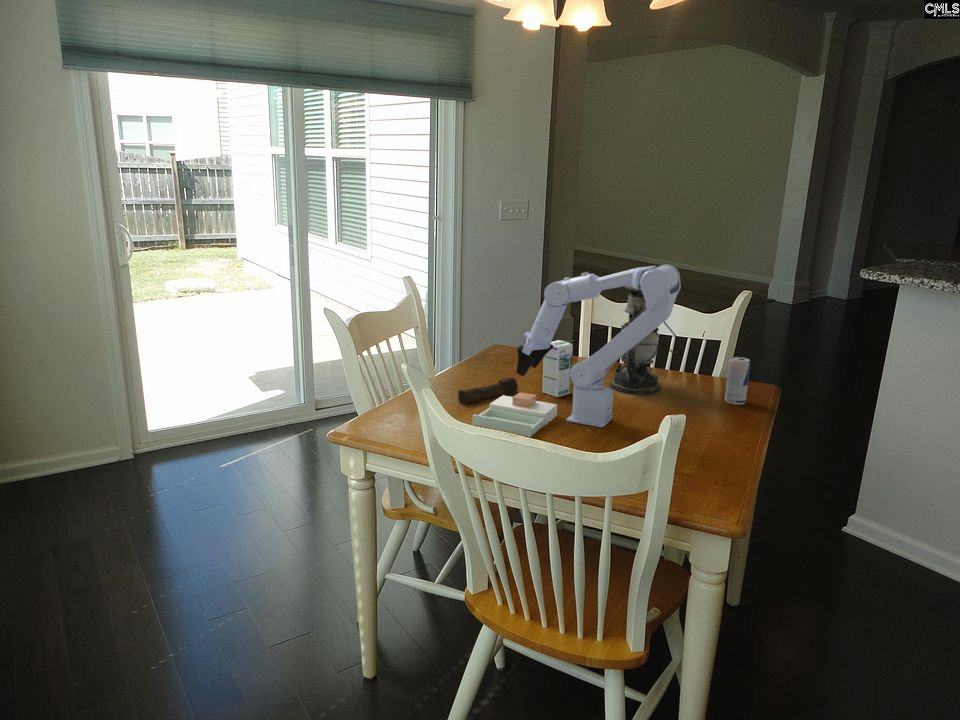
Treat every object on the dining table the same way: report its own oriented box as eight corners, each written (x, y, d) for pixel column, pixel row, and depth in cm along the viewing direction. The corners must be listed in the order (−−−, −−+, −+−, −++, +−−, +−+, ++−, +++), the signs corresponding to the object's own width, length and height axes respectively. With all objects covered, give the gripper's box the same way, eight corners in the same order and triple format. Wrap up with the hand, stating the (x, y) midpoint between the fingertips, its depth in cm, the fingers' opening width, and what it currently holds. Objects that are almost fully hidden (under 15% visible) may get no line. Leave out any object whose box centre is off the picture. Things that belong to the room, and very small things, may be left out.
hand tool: (465, 407, 183) (465, 390, 182) (456, 402, 186) (457, 385, 185) (523, 395, 193) (523, 379, 192) (514, 391, 196) (515, 375, 195)
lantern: (619, 375, 213) (626, 276, 205) (683, 384, 205) (693, 282, 197) (601, 392, 196) (608, 285, 188) (670, 402, 188) (680, 292, 180)
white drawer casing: (556, 415, 177) (557, 404, 176) (545, 425, 170) (545, 413, 169) (502, 406, 183) (502, 395, 182) (489, 415, 176) (489, 403, 176)
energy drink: (748, 402, 190) (754, 359, 187) (740, 406, 186) (745, 363, 183) (729, 397, 193) (734, 355, 190) (721, 402, 190) (726, 359, 186)
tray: (544, 425, 170) (545, 414, 169) (530, 438, 162) (530, 425, 161) (488, 415, 176) (489, 404, 175) (472, 426, 168) (472, 415, 168)
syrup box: (557, 398, 190) (559, 346, 187) (541, 392, 195) (543, 342, 191) (571, 394, 194) (573, 343, 190) (555, 389, 198) (557, 339, 194)
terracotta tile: (535, 402, 177) (536, 395, 177) (529, 407, 173) (529, 399, 173) (519, 399, 179) (519, 392, 179) (512, 404, 175) (512, 397, 175)
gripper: (543, 311, 182) (524, 355, 188) (520, 323, 170) (501, 370, 176) (566, 324, 180) (546, 368, 186) (545, 337, 168) (524, 384, 174)
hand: (526, 370), depth 181 cm, fingers open, 7 cm apart
